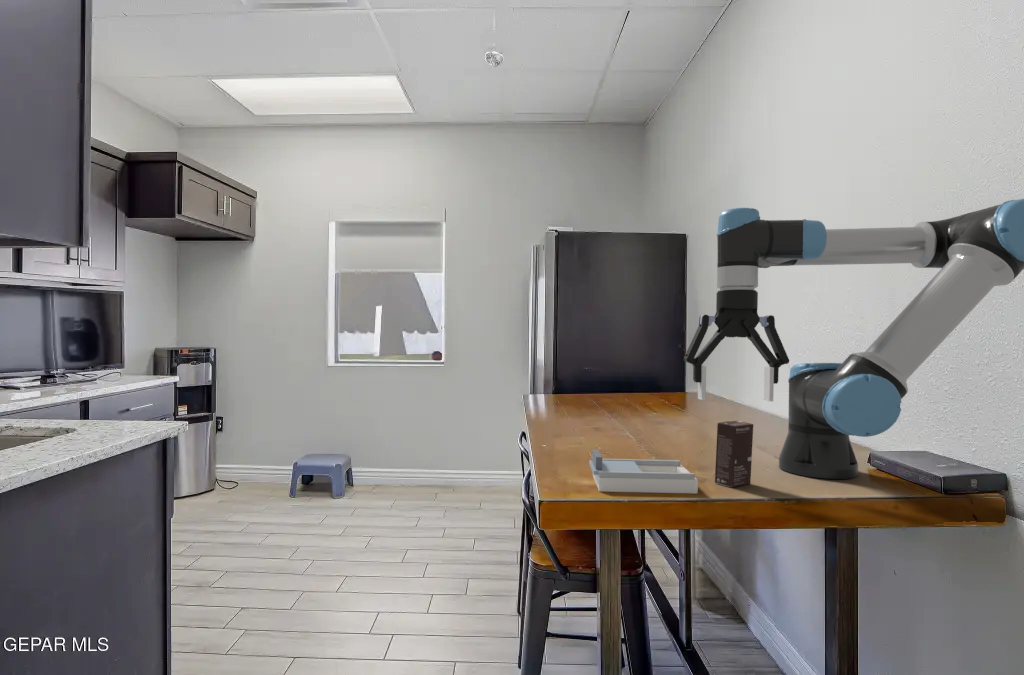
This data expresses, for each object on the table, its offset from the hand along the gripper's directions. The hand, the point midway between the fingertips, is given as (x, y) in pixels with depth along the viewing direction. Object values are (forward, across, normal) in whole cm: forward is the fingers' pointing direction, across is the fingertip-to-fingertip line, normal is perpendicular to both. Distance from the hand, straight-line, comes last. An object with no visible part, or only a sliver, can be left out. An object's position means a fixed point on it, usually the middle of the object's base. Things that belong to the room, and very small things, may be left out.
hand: (735, 400), depth 115 cm
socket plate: (+16, +18, +2) cm, 24 cm away
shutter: (+14, +23, +2) cm, 27 cm away
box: (+17, 0, 0) cm, 17 cm away
